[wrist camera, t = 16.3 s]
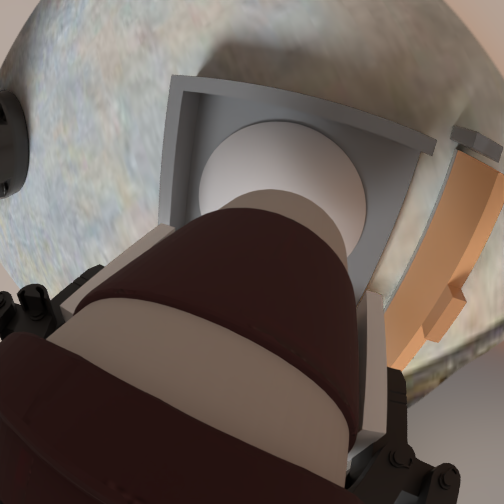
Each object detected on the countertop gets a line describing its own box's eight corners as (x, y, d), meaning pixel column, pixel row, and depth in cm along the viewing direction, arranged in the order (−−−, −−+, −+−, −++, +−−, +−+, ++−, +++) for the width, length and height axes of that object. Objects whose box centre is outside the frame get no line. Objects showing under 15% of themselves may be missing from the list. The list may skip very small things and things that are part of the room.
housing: (174, 343, 33) (158, 367, 30) (199, 57, 17) (169, 51, 14) (337, 399, 30) (333, 428, 26) (476, 137, 14) (503, 147, 11)
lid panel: (373, 331, 23) (372, 401, 17) (458, 149, 15) (510, 178, 9) (383, 334, 23) (385, 403, 17) (469, 155, 14) (524, 187, 8)
